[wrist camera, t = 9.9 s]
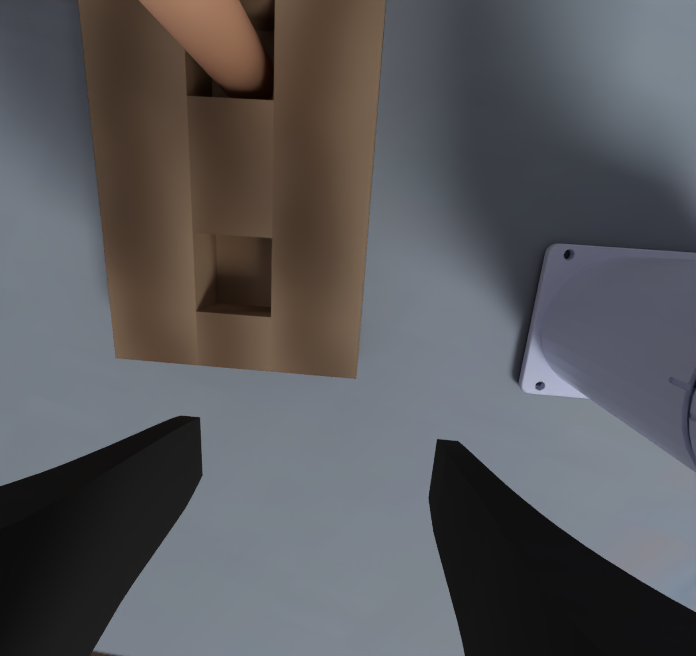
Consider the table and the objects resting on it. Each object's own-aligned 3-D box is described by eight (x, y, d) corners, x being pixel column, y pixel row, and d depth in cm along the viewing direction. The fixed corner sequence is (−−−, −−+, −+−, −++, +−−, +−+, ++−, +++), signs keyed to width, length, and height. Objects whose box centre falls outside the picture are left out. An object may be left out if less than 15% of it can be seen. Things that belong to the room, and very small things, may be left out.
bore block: (388, -29, 15) (393, -95, 12) (357, 358, 19) (356, 378, 16) (124, -38, 15) (67, -105, 12) (152, 341, 20) (115, 358, 17)
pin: (276, 48, 15) (182, -155, 8) (274, 110, 16) (186, -19, 8) (222, 44, 15) (74, -160, 8) (223, 106, 16) (85, -25, 8)
